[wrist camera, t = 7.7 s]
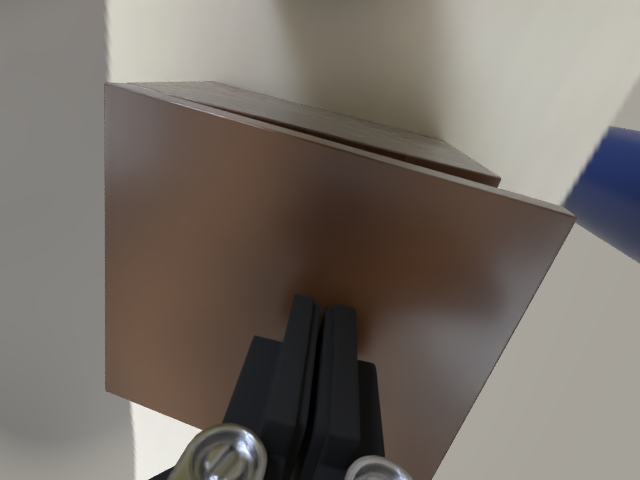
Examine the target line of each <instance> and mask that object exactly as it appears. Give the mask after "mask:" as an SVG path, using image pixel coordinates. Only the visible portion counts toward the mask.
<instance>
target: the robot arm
mask: <svg viewBox="0 0 640 480" xmlns="http://www.w3.org/2000/svg"><path fill="white" fill-rule="evenodd" d="M313 303H314V298H311V297H307V296H303V295H298V294H295V295H294V299H293V303H292V307H291V311H290V315H289V319H288V323H287V327H286V331H285V335H284V340H283V342H281V341H276V340H272V339H268V338H264V337H259V336H255V335H254V337H253V339H252V342H251V345H250V347H249V350H248V353H247V356H246V358H245V361H244V364H243V367H242V369H241V372H240V375H239V378H238V380H237V383H236V386H235V389H234V391H233V394H232V397H231V400H230V403H229V405H228V408H227V411H226V414H225V416H224V419H223V422H222V423H219V424H216V425H213V426H210V427H207V428H206V429H204V430H203V431H201V432H200V433H198V434H197V435H196V436H195V437H194V438H193V440H192V441H191V442H190V443H189V444H188V446H187V447H186V449H185V451H184V452H183V454H182V455H181V457H180V459H179V460H178V462H177V464H176V465H175V466H174V467H172V468H170V469H168V470H166V471H164V472H162V473H160V474H158V475H156V476H154V477H153V478H151V479H149V480H413V479H412V478H411V477H410V475H409V474H408V473H407V472H406V471H405V470H404V469H403V468H402V467H400V466H399V465H398V464H397V463H395V462H393V461H391V460H389V459H387V458H385V449H384V439H383V429H382V419H381V409H380V400H379V390H378V380H377V370H376V365H375V364H374V363H370V362H366V361H362V360H358V359H357V334H356V310H355V308H353V307H349V306H344V305H340V304H336V303H335V305H334V307H333V308H330V307H326V309H325V313H324V316H323V319H322V323H321V326H320V330H319V333H318V325H319V316H320V308H321V305H317V304H313ZM317 334H318V337H317Z"/></svg>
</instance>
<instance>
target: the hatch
mask: <svg viewBox="0 0 640 480" xmlns="http://www.w3.org/2000/svg"><path fill="white" fill-rule="evenodd" d="M576 220H577V217H576V216H575V215H573V214H572V213H571V212H569V211H568V210H567V209H565V208H564V207H562V206H558V205H555V204H551V203H548V202H544V201H541V200H537V199H534V198H530V197H527V196H523V195H520V194H516V193H512V192H509V191H505V190H502V189H498V188H495V187H491V186H488V185H484V184H481V183H477V182H474V181H470V180H467V179H463V178H459V177H456V176H452V175H449V174H445V173H442V172H438V171H435V170H431V169H428V168H424V167H421V166H417V165H414V164H410V163H406V162H403V161H399V160H396V159H392V158H389V157H385V156H382V155H378V154H375V153H371V152H368V151H364V150H361V149H357V148H353V147H350V146H346V145H343V144H339V143H336V142H332V141H329V140H325V139H322V138H318V137H315V136H311V135H308V134H304V133H300V132H297V131H293V130H290V129H286V128H283V127H279V126H276V125H272V124H269V123H265V122H262V121H258V120H255V119H251V118H247V117H244V116H240V115H237V114H233V113H230V112H226V111H223V110H219V109H216V108H212V107H209V106H205V105H202V104H198V103H194V102H191V101H187V100H184V99H180V98H177V97H173V96H170V95H166V94H163V93H159V92H156V91H152V90H149V89H145V88H141V87H138V86H134V85H131V84H127V83H105V389H106V391H107V392H110V393H112V394H115V395H117V396H120V397H122V398H125V399H127V400H130V401H132V402H135V403H137V404H139V405H142V406H144V407H147V408H149V409H152V410H154V411H157V412H159V413H162V414H164V415H167V416H169V417H172V418H174V419H176V420H179V421H181V422H184V423H186V424H189V425H191V426H194V427H196V428H199V429H201V430H204V429H206V428H207V427H210V426H213V425H216V424H219V423H222V422H223V419H224V416H225V414H226V411H227V408H228V405H229V403H230V400H231V397H232V394H233V391H234V389H235V386H236V383H237V380H238V378H239V375H240V372H241V369H242V367H243V364H244V361H245V358H246V356H247V353H248V350H249V347H250V345H251V342H252V339H253V337H254V335H255V336H259V337H264V338H268V339H272V340H276V341H281V342H283V340H284V335H285V331H286V327H287V323H288V319H289V315H290V311H291V307H292V303H293V299H294V295H295V294H298V295H303V296H307V297H311V298H314V303H313V304H317V305H321V308H320V316H319V325H318V333H319V330H320V326H321V323H322V319H323V316H324V313H325V309H326V307H330V308H333V307H334V305H335V303H336V304H340V305H344V306H349V307H353V308H355V310H356V334H357V359H358V360H362V361H366V362H370V363H374V364H375V365H376V370H377V380H378V390H379V400H380V409H381V419H382V429H383V439H384V449H385V458H387V459H389V460H391V461H393V462H395V463H397V464H398V465H399V466H400V467H402V468H403V469H404V470H405V471H406V472H407V473H408V474H409V475H410V477H411V478H412V479H413V480H432V478H433V476H434V474H435V473H436V471H437V469H438V467H439V465H440V464H441V461H442V460H443V458H444V456H445V455H446V453H447V451H448V449H449V447H450V446H451V444H452V442H453V440H454V438H455V437H456V435H457V433H458V431H459V429H460V428H461V426H462V424H463V422H464V421H465V419H466V417H467V415H468V413H469V412H470V409H471V408H472V406H473V404H474V403H475V400H476V399H477V397H478V395H479V394H480V392H481V390H482V388H483V386H484V385H485V383H486V381H487V379H488V377H489V376H490V374H491V372H492V370H493V369H494V367H495V365H496V363H497V361H498V360H499V358H500V356H501V354H502V352H503V351H504V349H505V347H506V345H507V343H508V342H509V340H510V338H511V336H512V334H513V333H514V331H515V329H516V327H517V326H518V324H519V322H520V320H521V318H522V316H523V315H524V313H525V311H526V309H527V308H528V306H529V304H530V302H531V300H532V299H533V297H534V295H535V293H536V291H537V290H538V288H539V286H540V284H541V282H542V281H543V279H544V277H545V275H546V273H547V272H548V270H549V268H550V266H551V264H552V263H553V261H554V259H555V257H556V256H557V254H558V252H559V250H560V248H561V247H562V245H563V243H564V241H565V239H566V238H567V236H568V234H569V232H570V230H571V229H572V227H573V225H574V223H575V221H576ZM317 337H318V334H317Z"/></svg>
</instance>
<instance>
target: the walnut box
mask: <svg viewBox="0 0 640 480" xmlns="http://www.w3.org/2000/svg"><path fill="white" fill-rule="evenodd" d="M127 84H131V85H134V86H138V87H141V88H145V89H149V90H152V91H156V92H159V93H163V94H166V95H170V96H173V97H177V98H180V99H184V100H187V101H191V102H194V103H198V104H202V105H205V106H209V107H212V108H216V109H219V110H223V111H226V112H230V113H233V114H237V115H240V116H244V117H247V118H251V119H255V120H258V121H262V122H265V123H269V124H272V125H276V126H279V127H283V128H286V129H290V130H293V131H297V132H300V133H304V134H308V135H311V136H315V137H318V138H322V139H325V140H329V141H332V142H336V143H339V144H343V145H346V146H350V147H353V148H357V149H361V150H364V151H368V152H371V153H375V154H378V155H382V156H385V157H389V158H392V159H396V160H399V161H403V162H406V163H410V164H414V165H417V166H421V167H424V168H428V169H431V170H435V171H438V172H442V173H445V174H449V175H452V176H456V177H459V178H463V179H467V180H470V181H474V182H477V183H481V184H484V185H488V186H491V187H495V188H497V187H498V185H499V183H500V181H501V178H500V177H499V176H497V175H495V174H494V173H492V172H491V171H489V170H488V169H486V168H485V167H483V166H482V165H480V164H479V163H477V162H476V161H474V160H472V159H471V158H469V157H468V156H466V155H465V154H463V153H462V152H460V151H459V150H457V149H456V148H454V147H453V146H451V145H449V144H448V143H446V142H445V141H443V140H439V139H435V138H431V137H427V136H423V135H419V134H415V133H411V132H407V131H404V130H400V129H396V128H392V127H388V126H384V125H380V124H376V123H372V122H368V121H365V120H361V119H357V118H353V117H349V116H345V115H341V114H337V113H333V112H329V111H326V110H322V109H318V108H314V107H310V106H306V105H302V104H298V103H294V102H290V101H287V100H283V99H279V98H275V97H271V96H267V95H263V94H259V93H255V92H251V91H248V90H244V89H240V88H236V87H232V86H228V85H224V84H220V83H216V82H146V83H127Z"/></svg>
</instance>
